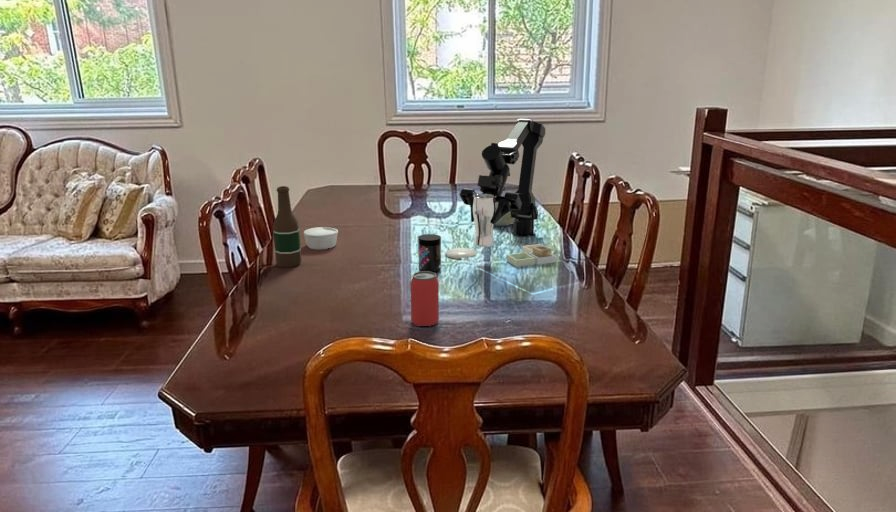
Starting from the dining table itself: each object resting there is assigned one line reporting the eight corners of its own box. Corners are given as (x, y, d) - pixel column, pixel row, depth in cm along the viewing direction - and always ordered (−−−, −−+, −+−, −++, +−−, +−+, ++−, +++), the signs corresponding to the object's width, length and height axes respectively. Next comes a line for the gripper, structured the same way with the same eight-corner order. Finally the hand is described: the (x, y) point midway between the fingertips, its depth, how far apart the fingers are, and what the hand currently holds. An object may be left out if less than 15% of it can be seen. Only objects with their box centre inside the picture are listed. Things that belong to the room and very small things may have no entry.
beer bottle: (307, 261, 190) (301, 185, 183) (293, 269, 183) (286, 190, 176) (285, 259, 193) (279, 183, 185) (270, 266, 186) (263, 188, 178)
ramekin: (345, 243, 209) (344, 228, 208) (325, 252, 200) (324, 237, 198) (318, 239, 214) (317, 225, 212) (298, 248, 204) (296, 233, 202)
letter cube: (542, 257, 192) (542, 245, 191) (550, 261, 189) (551, 248, 188) (532, 259, 190) (532, 247, 189) (540, 263, 187) (541, 250, 186)
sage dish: (524, 259, 192) (525, 252, 191) (534, 265, 186) (535, 258, 185) (506, 262, 189) (506, 254, 189) (516, 268, 184) (516, 260, 183)
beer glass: (493, 247, 183) (494, 198, 179) (470, 246, 185) (471, 197, 180) (496, 241, 190) (497, 193, 185) (474, 240, 191) (474, 193, 187)
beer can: (410, 317, 149) (409, 270, 145) (437, 316, 149) (437, 269, 146) (411, 328, 142) (410, 280, 139) (439, 327, 143) (439, 279, 139)
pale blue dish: (545, 257, 194) (545, 250, 193) (555, 263, 188) (556, 256, 187) (527, 260, 191) (527, 252, 191) (537, 266, 186) (537, 258, 185)
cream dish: (539, 251, 200) (539, 243, 200) (549, 256, 195) (550, 249, 194) (522, 253, 198) (522, 245, 197) (531, 258, 193) (532, 251, 192)
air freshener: (499, 229, 227) (499, 202, 224) (483, 224, 233) (483, 199, 230) (519, 224, 234) (519, 198, 231) (503, 220, 240) (504, 195, 237)
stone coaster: (469, 248, 203) (469, 246, 203) (481, 256, 195) (481, 255, 194) (441, 251, 200) (441, 250, 200) (452, 260, 191) (452, 258, 191)
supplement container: (419, 266, 185) (419, 233, 182) (442, 267, 185) (442, 234, 182) (417, 274, 179) (416, 240, 176) (440, 274, 178) (440, 240, 175)
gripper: (462, 162, 187) (446, 205, 181) (519, 166, 179) (505, 211, 173) (472, 183, 196) (457, 224, 190) (527, 188, 188) (514, 231, 182)
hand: (482, 222), depth 184 cm, fingers closed on beer glass, 6 cm apart
